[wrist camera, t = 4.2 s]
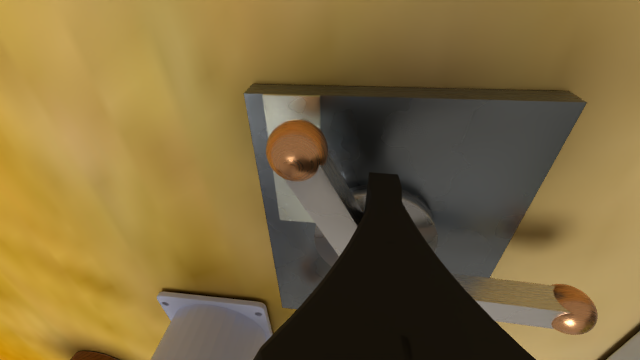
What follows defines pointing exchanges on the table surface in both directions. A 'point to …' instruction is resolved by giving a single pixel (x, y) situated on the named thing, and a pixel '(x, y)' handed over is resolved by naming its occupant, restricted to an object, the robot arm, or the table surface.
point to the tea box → (628, 350)
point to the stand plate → (415, 163)
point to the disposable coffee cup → (91, 356)
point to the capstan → (348, 209)
